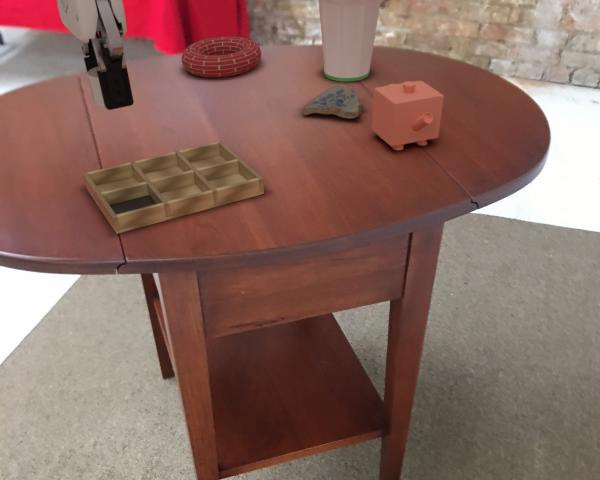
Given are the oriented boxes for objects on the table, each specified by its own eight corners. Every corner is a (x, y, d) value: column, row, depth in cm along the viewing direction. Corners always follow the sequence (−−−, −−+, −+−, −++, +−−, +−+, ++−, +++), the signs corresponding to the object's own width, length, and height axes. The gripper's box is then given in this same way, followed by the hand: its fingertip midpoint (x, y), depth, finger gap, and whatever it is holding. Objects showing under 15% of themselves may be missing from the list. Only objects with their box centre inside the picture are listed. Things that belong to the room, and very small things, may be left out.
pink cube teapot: (400, 162, 91) (406, 102, 85) (365, 131, 99) (368, 74, 93) (448, 153, 93) (457, 94, 87) (409, 123, 101) (415, 67, 95)
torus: (230, 49, 129) (228, 29, 126) (278, 64, 122) (277, 44, 119) (167, 68, 121) (163, 47, 118) (213, 86, 114) (211, 65, 111)
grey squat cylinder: (100, 110, 71) (93, 80, 69) (89, 98, 74) (82, 68, 71) (138, 102, 72) (132, 72, 70) (126, 91, 75) (120, 61, 73)
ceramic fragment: (355, 115, 99) (299, 96, 101) (351, 135, 101) (297, 115, 104) (381, 92, 105) (328, 74, 108) (377, 111, 108) (325, 93, 110)
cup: (393, 71, 118) (401, -26, 107) (354, 91, 111) (358, -11, 100) (339, 58, 123) (341, -36, 112) (299, 76, 117) (297, -22, 106)
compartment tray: (116, 234, 78) (112, 217, 77) (86, 188, 87) (82, 173, 85) (264, 193, 85) (263, 178, 83) (222, 155, 94) (221, 140, 92)
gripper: (10, -108, 64) (62, 83, 77) (50, -85, 54) (102, 132, 66) (83, -114, 67) (122, 72, 79) (135, -94, 56) (169, 117, 69)
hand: (112, 97), depth 73 cm, fingers closed on grey squat cylinder, 4 cm apart
